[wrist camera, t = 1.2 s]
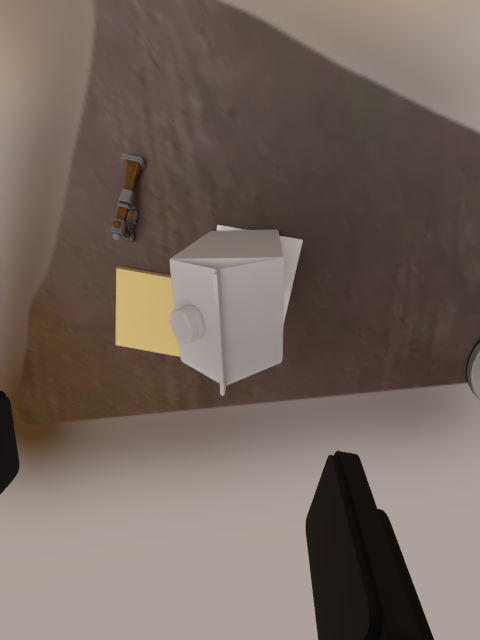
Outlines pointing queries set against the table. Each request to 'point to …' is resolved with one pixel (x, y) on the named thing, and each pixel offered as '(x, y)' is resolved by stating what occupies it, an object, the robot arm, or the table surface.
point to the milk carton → (229, 303)
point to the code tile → (291, 256)
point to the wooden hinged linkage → (128, 200)
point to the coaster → (145, 311)
